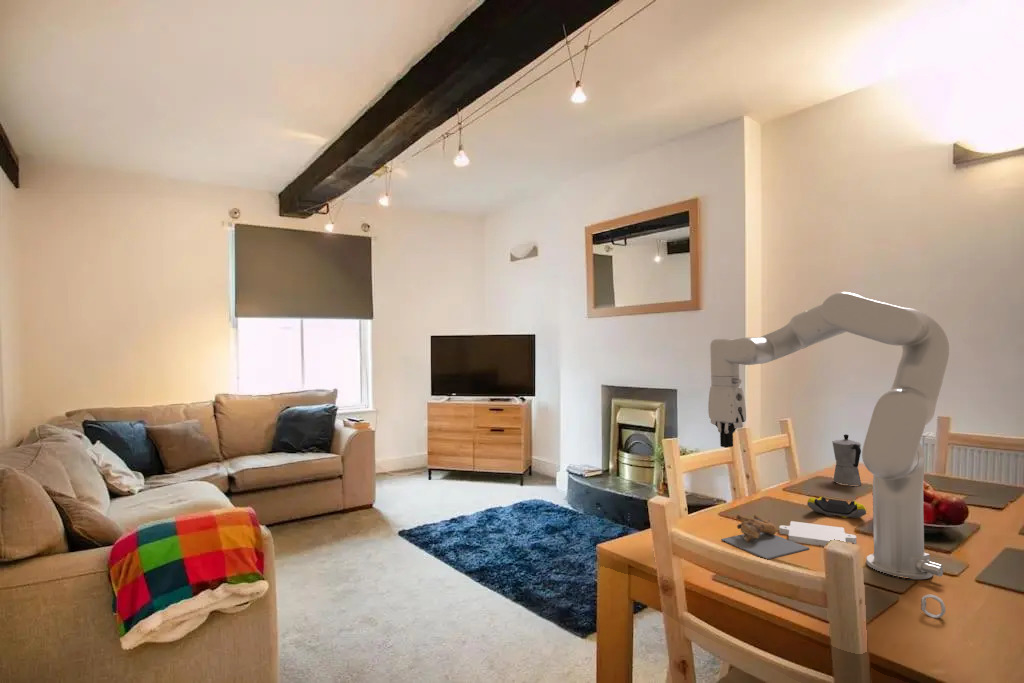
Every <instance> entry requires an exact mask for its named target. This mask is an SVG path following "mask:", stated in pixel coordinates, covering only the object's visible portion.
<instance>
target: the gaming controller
mask: <svg viewBox="0 0 1024 683" xmlns="http://www.w3.org/2000/svg"><path fill="white" fill-rule="evenodd" d="M807 507H809V508H810V509H811V511H813V512H816V513H819V514H824V515H825V516H827V517H834V516H839V517H840V518H841V517H842V519H843V518H844V519H846V518H847V519H848V518H852V519H857V518H862V517H863V516H865V515H867V508H866V507H865V505H864V504H862V503H859V502H857V501H855V500H852V501H850V503H848V501H847V500H838V499H828V500H827V499H826V498H825V497H823V496H820V497H819V498H816V497H809V498H808V499H807Z"/></svg>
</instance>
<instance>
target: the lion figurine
mask: <svg viewBox="0 0 1024 683" xmlns="http://www.w3.org/2000/svg"><path fill="white" fill-rule="evenodd" d="M736 519H737V520H739V521H741V523H738V524H737V525H736V527H737V529H738V530H740V532H741V533H742V534H744V536H743V538H744V539H745V540H746V541H747V542H749V541H750V540H751V539H754V538H759V535H760V533H763V532H765V533H767V534H770V535H773V534H774V535H776V533H777V532H778V529H777V527H776V525H775V524H774V523H772V522H771V521H770V520H766V519H763V518H761V517H759V516H758V515H757V514H754V515H753V518H748V517H745V516H741V515H740V514H737V515H736Z"/></svg>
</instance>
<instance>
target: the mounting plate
mask: <svg viewBox="0 0 1024 683" xmlns="http://www.w3.org/2000/svg"><path fill="white" fill-rule="evenodd" d="M778 529H779V534H780V535H787V536H788V540H790V541H793V542H795V543H798V544H808V545H812V546H813V545H814V546H819V545H821V546H820V547H826V546H825V545H826V544H827V543H828V542H829V541H830V540H834V539H835V540H840V541H844V542H851V543H854V544H853V545H856V544H857V535H855V534H851V533H846V532H845V527H842V526H841V527H840V526H833V525H832V526H831V525H824V524H818V523H809V522H801V521H794V520H791V521H790V523H789V525H784V524H783V525H782V524H781V525H779V528H778ZM822 545H823V546H822Z"/></svg>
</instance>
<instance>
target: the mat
mask: <svg viewBox="0 0 1024 683" xmlns="http://www.w3.org/2000/svg"><path fill="white" fill-rule="evenodd" d="M743 536H744V533H742V534H737V535H734V536H728V537H724V538H720V539H721V540H722V541H721V540H720V541H721V542H724V541H725V542H724V543H726V544H728V543H729V544H728V545H731V546H733V545H734V547H736V548H738V547H739V548H738V549H739V550H740V549H741V550H743V551H745V552H748V553H750V554H753V555H754V556H757V557H758V558H761V557H763V558H762V559H764V558H767V559H768V560H771V559H775V558H780V557H783V556H788V555H792V554H797V553H799V552H800V553H801V552H804V551H808V550H810V547H809V546H806V545H803V544H802V543H799V542H793V541H790V540H789V539H786V538H785V537H782V536H779V535H776V534H773V535H770V534H767V533H765V532H763V533H760V535H759V538H754V539H751V540H750V541H749V542H747V541H746V540H745V539H744V538H743Z"/></svg>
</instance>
